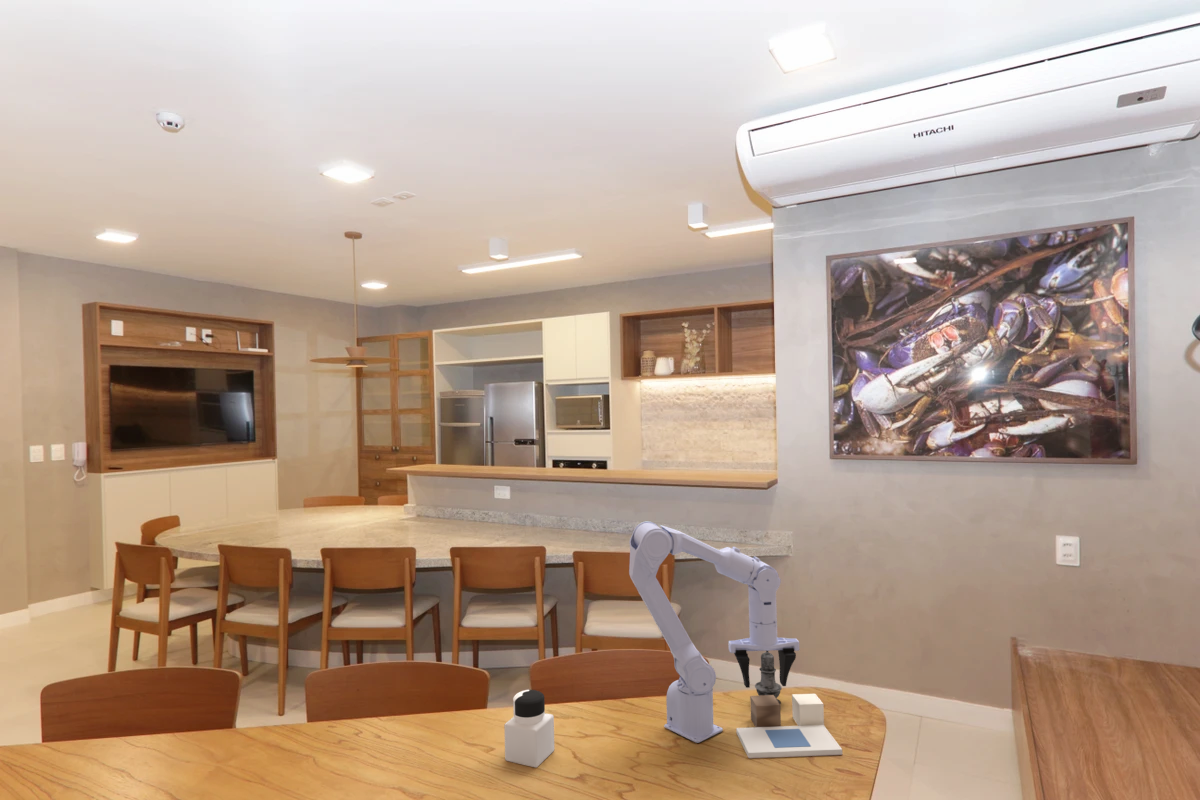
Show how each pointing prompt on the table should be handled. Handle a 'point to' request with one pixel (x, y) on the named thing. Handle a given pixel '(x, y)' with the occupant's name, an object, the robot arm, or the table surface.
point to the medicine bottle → (529, 730)
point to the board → (788, 741)
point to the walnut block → (765, 711)
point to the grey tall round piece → (768, 677)
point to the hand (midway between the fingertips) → (764, 685)
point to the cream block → (807, 709)
